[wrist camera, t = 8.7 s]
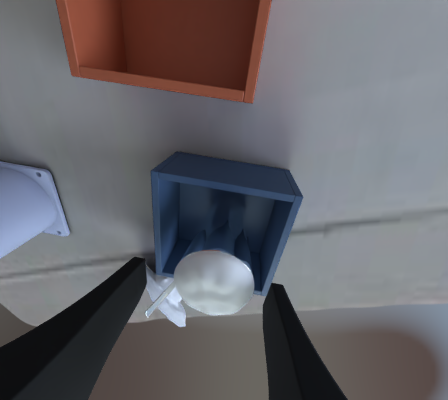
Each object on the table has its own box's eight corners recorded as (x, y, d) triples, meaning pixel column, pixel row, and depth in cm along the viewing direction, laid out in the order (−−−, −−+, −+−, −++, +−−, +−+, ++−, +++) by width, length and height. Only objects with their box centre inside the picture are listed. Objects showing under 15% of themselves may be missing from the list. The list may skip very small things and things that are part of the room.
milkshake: (191, 189, 17) (131, 283, 9) (252, 187, 17) (254, 288, 8) (199, 230, 19) (157, 340, 11) (253, 230, 19) (255, 348, 10)
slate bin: (175, 238, 21) (155, 275, 17) (176, 151, 16) (150, 170, 12) (263, 254, 20) (266, 296, 16) (289, 170, 16) (303, 196, 12)
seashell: (193, 252, 27) (215, 314, 22) (158, 270, 26) (173, 336, 22) (169, 231, 20) (194, 314, 16) (121, 254, 19) (133, 345, 15)
